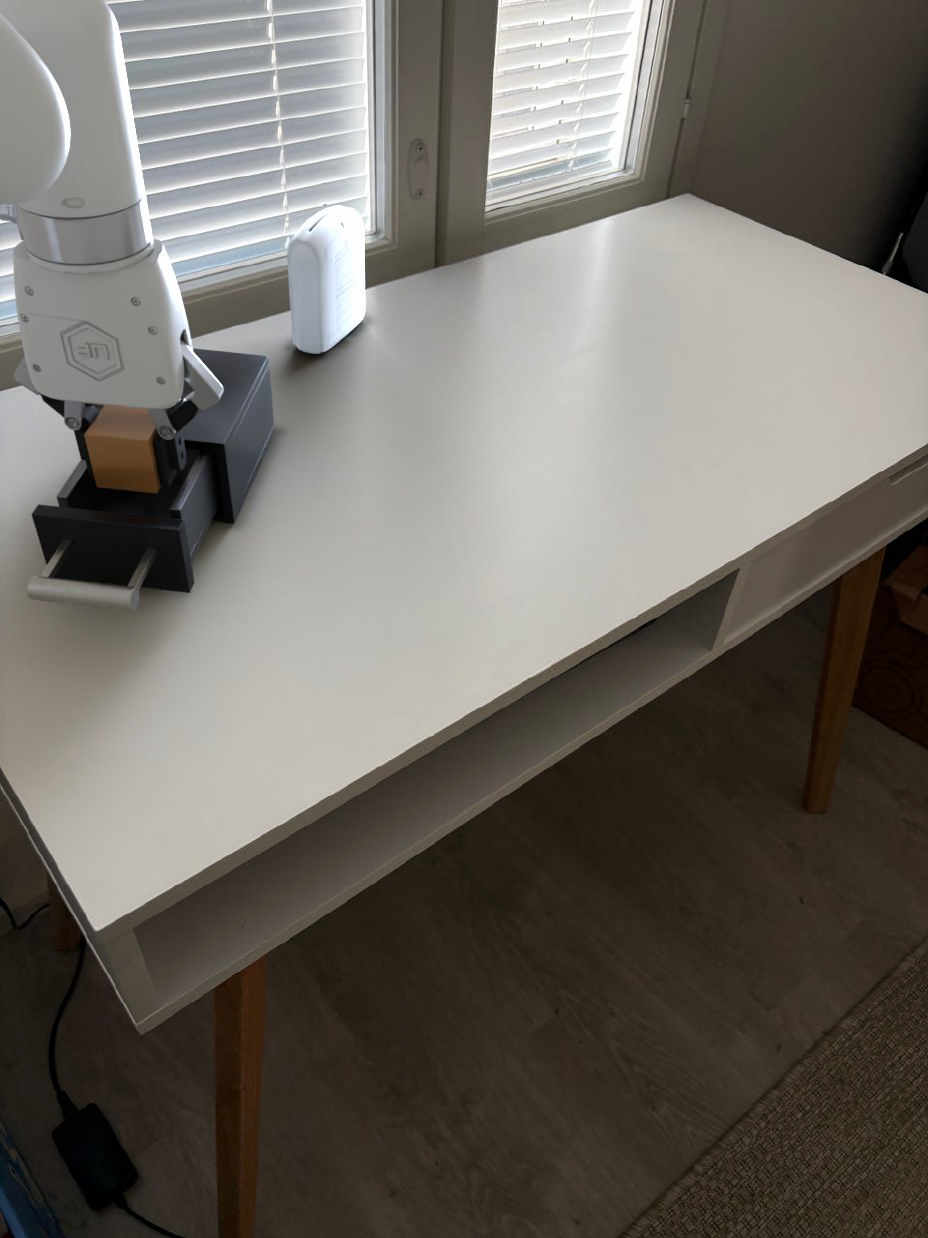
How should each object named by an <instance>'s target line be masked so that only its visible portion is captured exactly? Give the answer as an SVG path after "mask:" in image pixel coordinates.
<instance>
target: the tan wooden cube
mask: <svg viewBox="0 0 928 1238" xmlns="http://www.w3.org/2000/svg"><path fill="white" fill-rule="evenodd" d="M156 434H157V430H156V427H155V425H154V423H153V421H152V419H151V416H150V414H149V412H148V410H147V409H138V408H128V407H118V406H108V405H104V407H103V408H102V410H101V411H100V413H99V414H98V416H97V417H96V418H95V420H94V421H93V423H92V424H91V426H90V427H89V429H88V430H87V431H86V433H85V435H84V436H85V440H86V444H87V448H88V452H89V456H90V460H91V465H92V469H93V473H94V477H95V481H96V485H97V487H100V488H110V489H119V490H128V491H138V492H147V493H158V492H159V490H160V488H161V486H162V483H160V480H159V475H158V469H157V464H156V459H155V453H154V448H153V439H154V437H155V435H156Z"/></svg>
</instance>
